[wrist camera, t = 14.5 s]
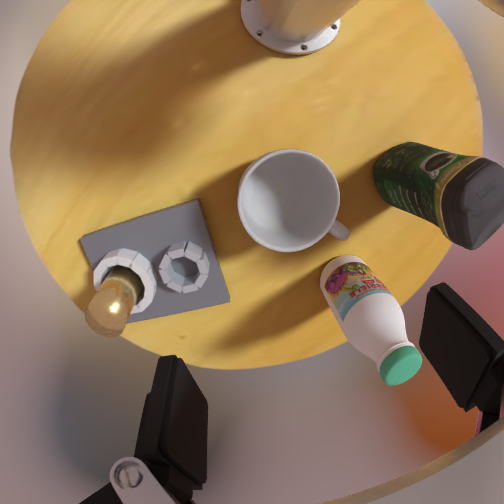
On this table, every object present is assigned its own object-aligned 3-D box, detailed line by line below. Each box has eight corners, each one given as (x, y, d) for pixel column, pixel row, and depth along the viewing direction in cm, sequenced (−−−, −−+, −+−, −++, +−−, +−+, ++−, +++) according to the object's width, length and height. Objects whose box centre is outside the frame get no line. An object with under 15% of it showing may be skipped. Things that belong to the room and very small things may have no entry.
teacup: (218, 193, 35) (214, 210, 28) (275, 127, 32) (288, 127, 25) (297, 256, 40) (311, 286, 32) (350, 199, 37) (377, 217, 29)
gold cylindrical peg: (106, 266, 36) (77, 306, 27) (135, 257, 36) (111, 298, 27) (120, 295, 38) (98, 339, 29) (149, 288, 38) (131, 334, 29)
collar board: (83, 235, 36) (71, 246, 32) (198, 198, 35) (195, 206, 32) (124, 318, 42) (117, 334, 38) (229, 296, 41) (230, 312, 38)
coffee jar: (385, 211, 38) (470, 271, 21) (363, 164, 35) (457, 201, 18) (430, 180, 36) (521, 220, 19) (413, 133, 33) (512, 153, 16)
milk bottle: (366, 289, 43) (429, 378, 25) (322, 303, 43) (369, 405, 25) (363, 246, 40) (440, 331, 22) (314, 261, 40) (370, 362, 22)
